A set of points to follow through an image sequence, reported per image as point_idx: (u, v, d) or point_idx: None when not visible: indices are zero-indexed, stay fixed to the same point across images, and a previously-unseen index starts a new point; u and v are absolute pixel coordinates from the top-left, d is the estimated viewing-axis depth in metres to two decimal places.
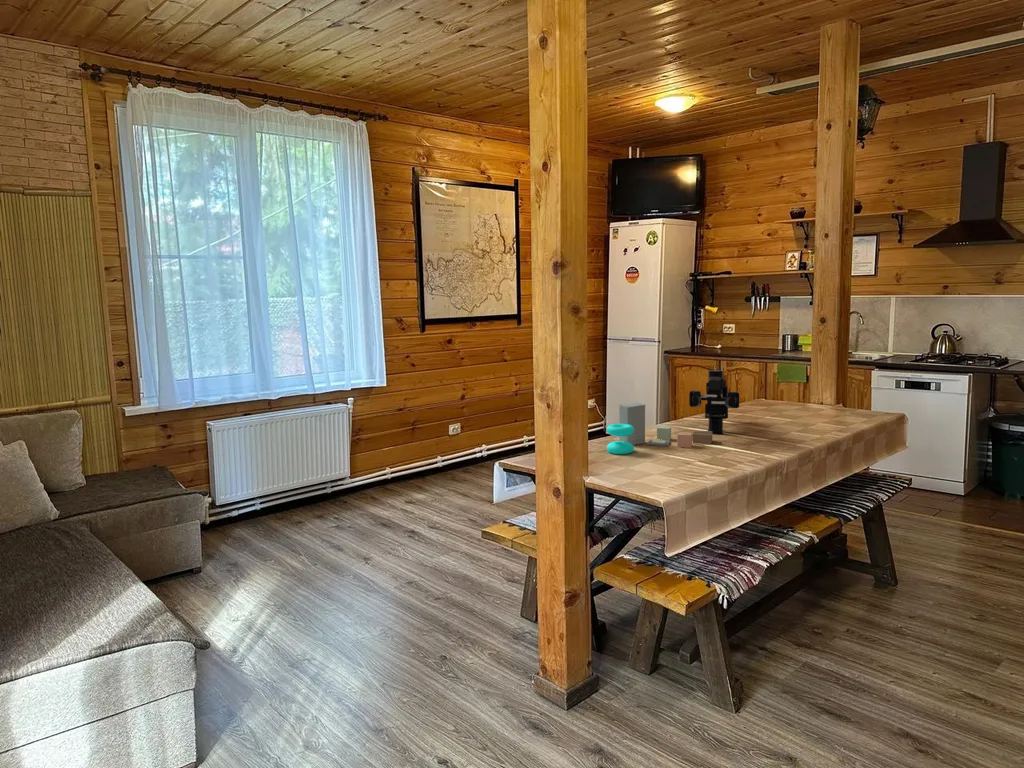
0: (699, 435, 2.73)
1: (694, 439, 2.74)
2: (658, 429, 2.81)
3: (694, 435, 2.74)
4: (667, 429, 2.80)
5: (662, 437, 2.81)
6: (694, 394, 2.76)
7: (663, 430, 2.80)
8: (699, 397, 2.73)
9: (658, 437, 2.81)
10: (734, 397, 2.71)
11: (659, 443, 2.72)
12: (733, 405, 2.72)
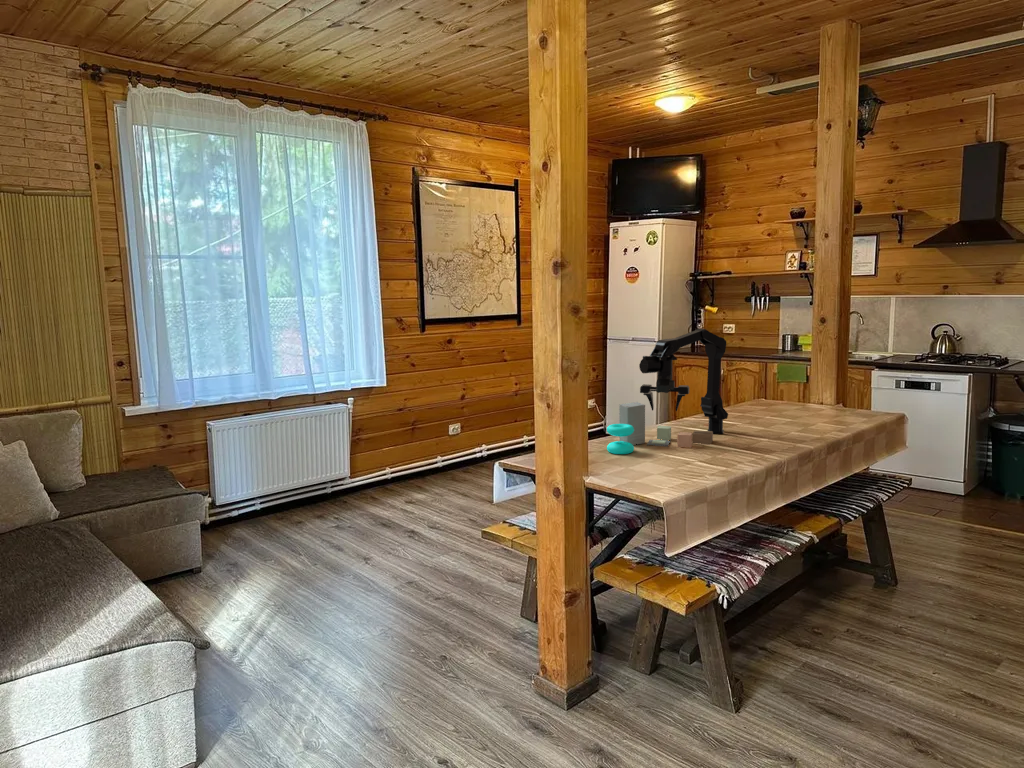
0: (699, 435, 2.73)
1: (694, 439, 2.74)
2: (658, 429, 2.81)
3: (694, 435, 2.74)
4: (667, 429, 2.80)
5: (662, 437, 2.81)
6: None
7: (663, 430, 2.80)
8: (650, 401, 2.81)
9: (658, 437, 2.81)
10: (683, 395, 2.77)
11: (659, 443, 2.72)
12: None
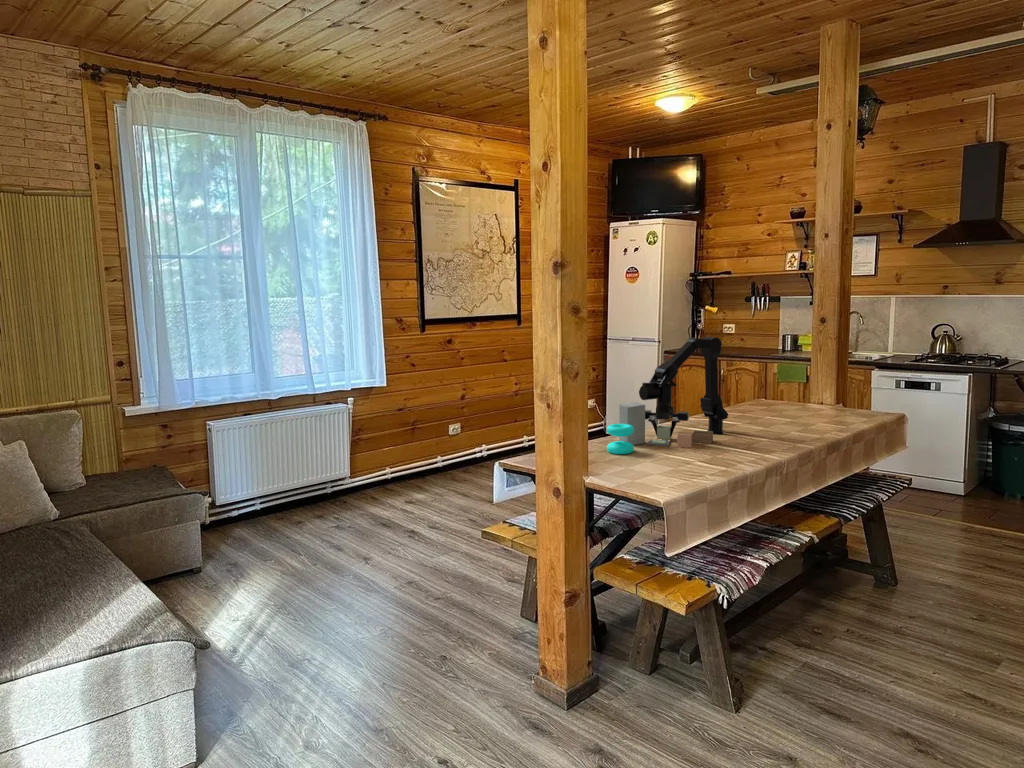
0: (698, 435, 2.73)
1: (693, 439, 2.74)
2: (658, 429, 2.81)
3: (693, 435, 2.74)
4: (667, 429, 2.80)
5: (662, 437, 2.81)
6: None
7: (663, 430, 2.80)
8: (655, 427, 2.82)
9: (658, 437, 2.81)
10: None
11: (659, 443, 2.72)
12: None
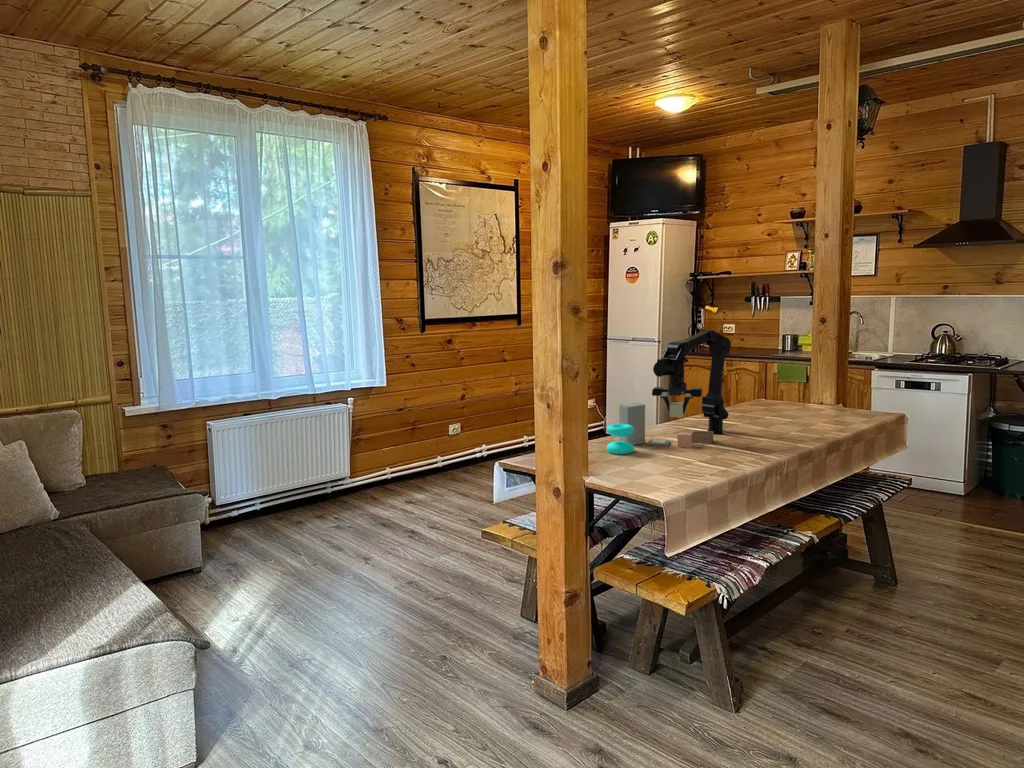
0: (698, 435, 2.73)
1: (693, 439, 2.74)
2: (671, 405, 2.77)
3: (693, 435, 2.74)
4: (680, 405, 2.76)
5: (675, 414, 2.77)
6: None
7: (676, 406, 2.77)
8: (667, 404, 2.79)
9: (671, 413, 2.78)
10: None
11: (659, 443, 2.72)
12: None
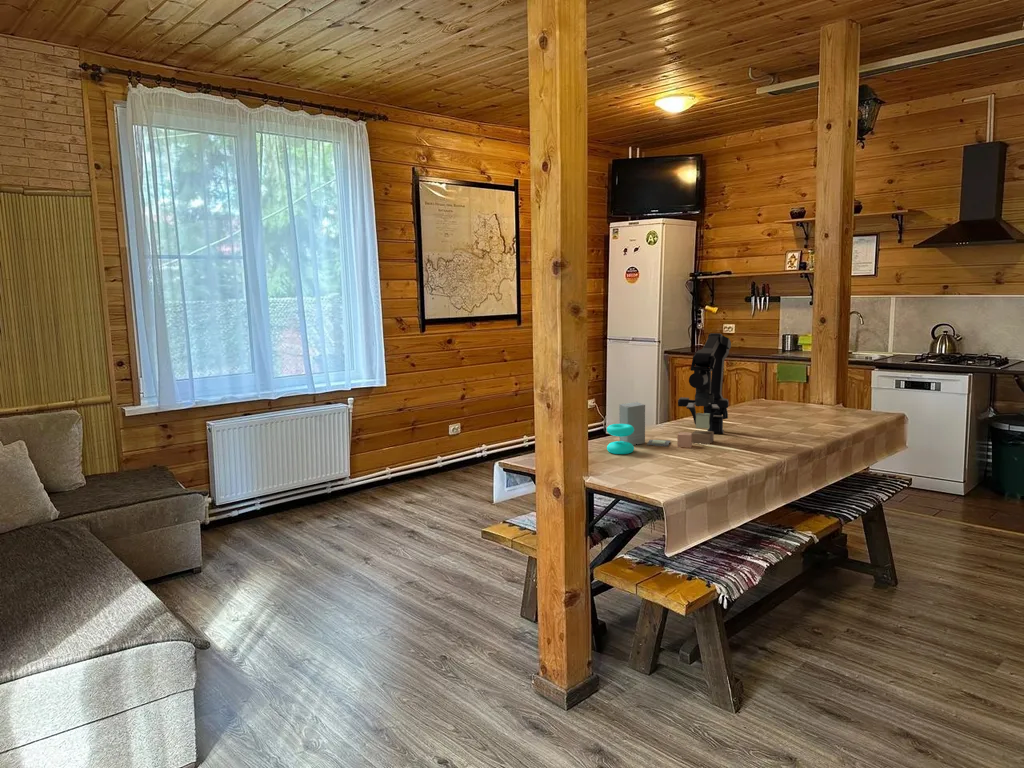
0: (698, 435, 2.73)
1: (693, 439, 2.74)
2: (697, 416, 2.73)
3: (693, 435, 2.74)
4: (706, 416, 2.72)
5: (701, 425, 2.73)
6: None
7: (702, 417, 2.73)
8: (693, 415, 2.75)
9: (697, 425, 2.74)
10: None
11: (659, 443, 2.72)
12: None
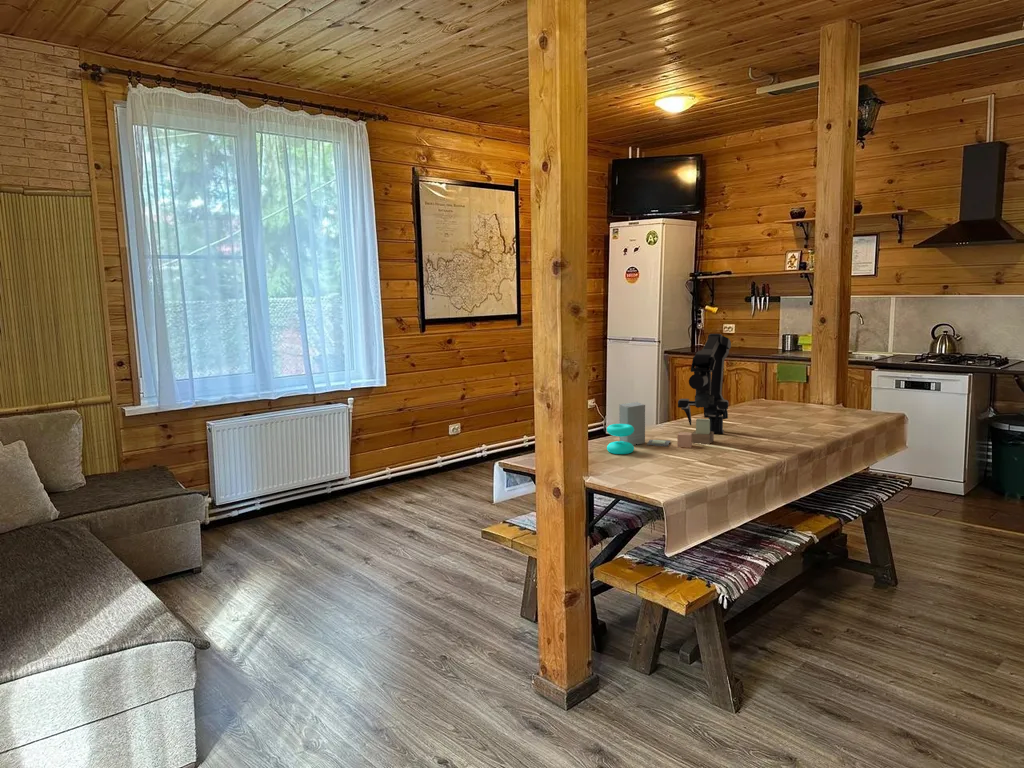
0: (697, 435, 2.73)
1: (692, 439, 2.75)
2: (697, 422, 2.74)
3: (692, 435, 2.74)
4: (706, 422, 2.72)
5: (702, 430, 2.73)
6: None
7: (702, 423, 2.73)
8: (688, 416, 2.75)
9: (697, 430, 2.74)
10: (723, 410, 2.71)
11: (659, 443, 2.72)
12: None
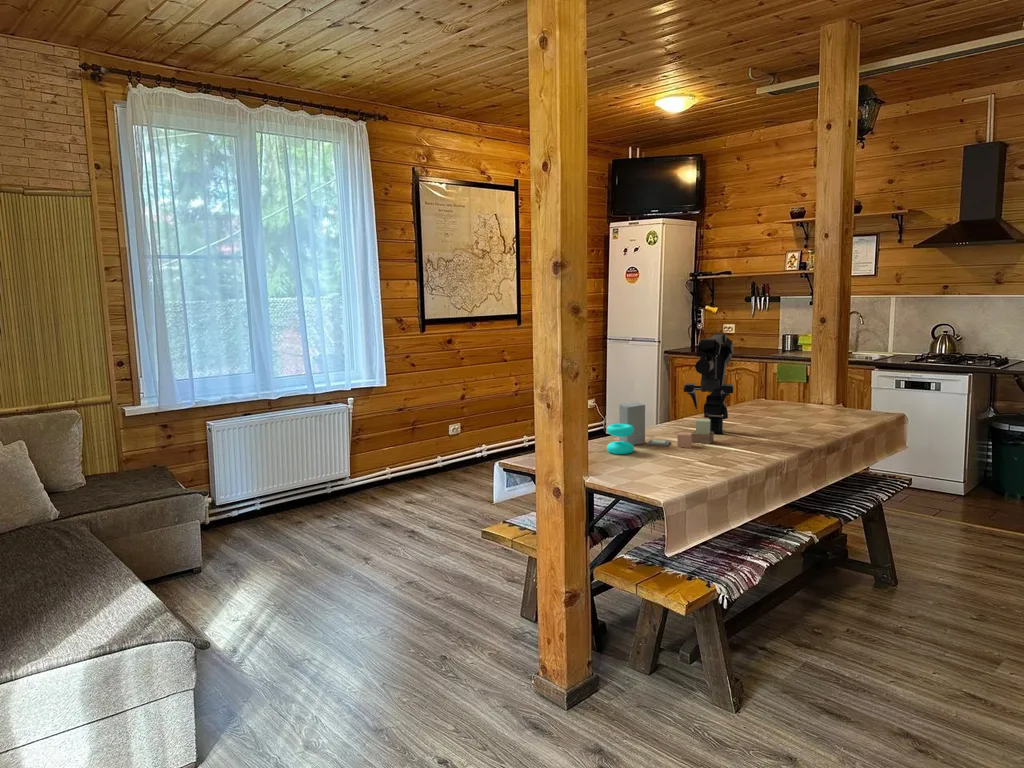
0: (697, 435, 2.73)
1: (692, 439, 2.75)
2: (697, 422, 2.73)
3: (692, 435, 2.74)
4: (707, 422, 2.72)
5: (702, 430, 2.73)
6: None
7: (702, 423, 2.73)
8: (694, 400, 2.81)
9: (697, 430, 2.74)
10: (728, 394, 2.76)
11: (659, 443, 2.72)
12: None
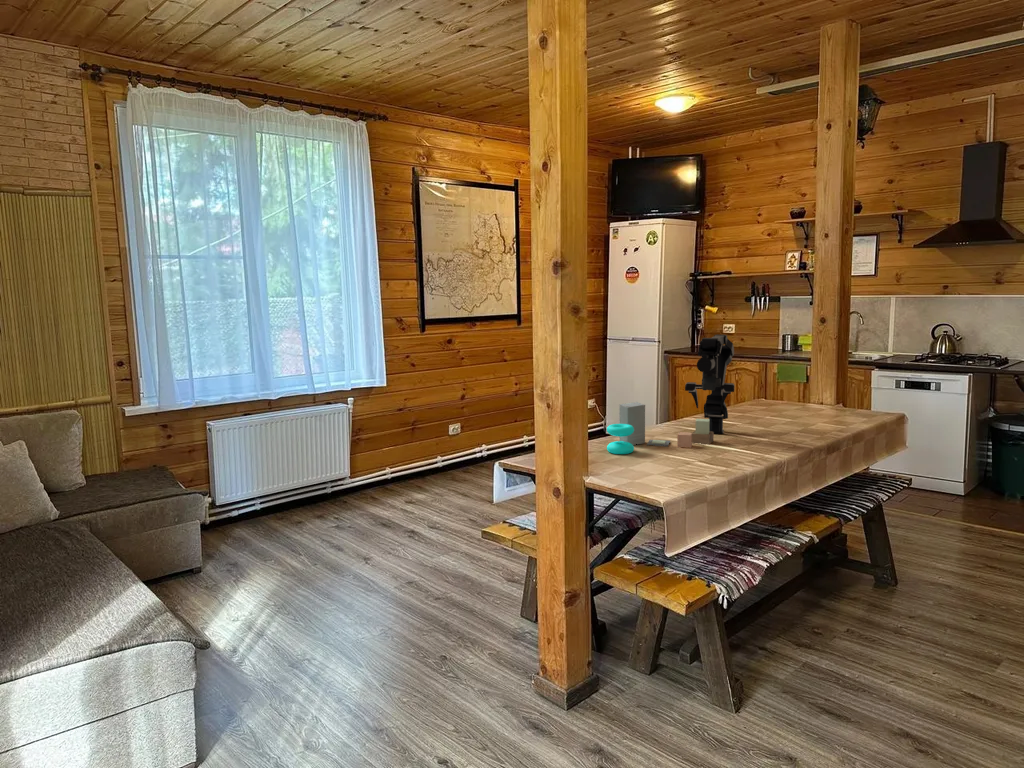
0: (697, 435, 2.73)
1: (692, 439, 2.75)
2: (697, 422, 2.73)
3: (692, 435, 2.74)
4: (706, 422, 2.72)
5: (701, 430, 2.73)
6: None
7: (702, 423, 2.73)
8: (695, 399, 2.82)
9: (697, 430, 2.74)
10: None
11: (659, 443, 2.72)
12: None
